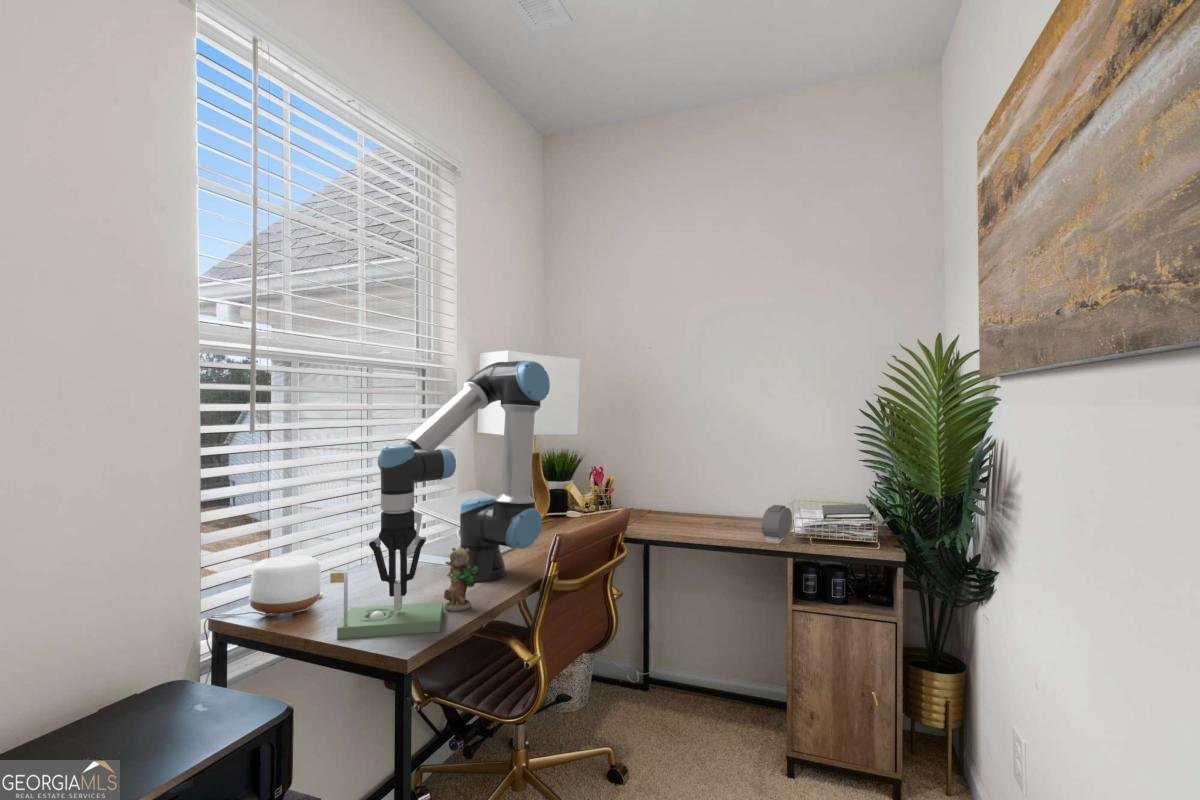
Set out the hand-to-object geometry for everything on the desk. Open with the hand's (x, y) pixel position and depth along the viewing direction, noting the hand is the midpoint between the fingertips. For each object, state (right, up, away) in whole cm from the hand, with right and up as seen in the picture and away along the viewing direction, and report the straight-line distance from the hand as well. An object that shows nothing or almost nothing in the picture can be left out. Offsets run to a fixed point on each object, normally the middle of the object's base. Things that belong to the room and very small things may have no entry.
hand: (398, 609), depth 141 cm
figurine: (+12, -4, +11) cm, 17 cm away
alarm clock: (+116, -4, +87) cm, 145 cm away
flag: (-11, -1, -8) cm, 13 cm away
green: (-1, -4, 0) cm, 4 cm away
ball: (-5, -2, -1) cm, 5 cm away
